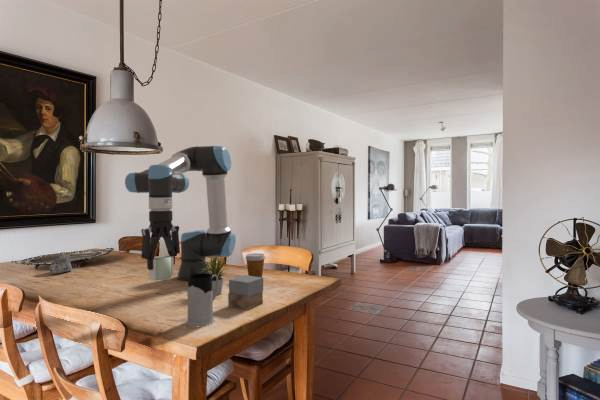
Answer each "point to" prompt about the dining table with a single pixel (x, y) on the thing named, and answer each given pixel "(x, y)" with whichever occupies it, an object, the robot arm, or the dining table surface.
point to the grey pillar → (200, 299)
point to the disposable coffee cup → (255, 264)
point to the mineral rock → (61, 264)
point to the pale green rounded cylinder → (163, 267)
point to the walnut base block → (245, 301)
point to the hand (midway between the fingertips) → (161, 276)
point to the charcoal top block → (246, 285)
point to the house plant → (215, 272)
